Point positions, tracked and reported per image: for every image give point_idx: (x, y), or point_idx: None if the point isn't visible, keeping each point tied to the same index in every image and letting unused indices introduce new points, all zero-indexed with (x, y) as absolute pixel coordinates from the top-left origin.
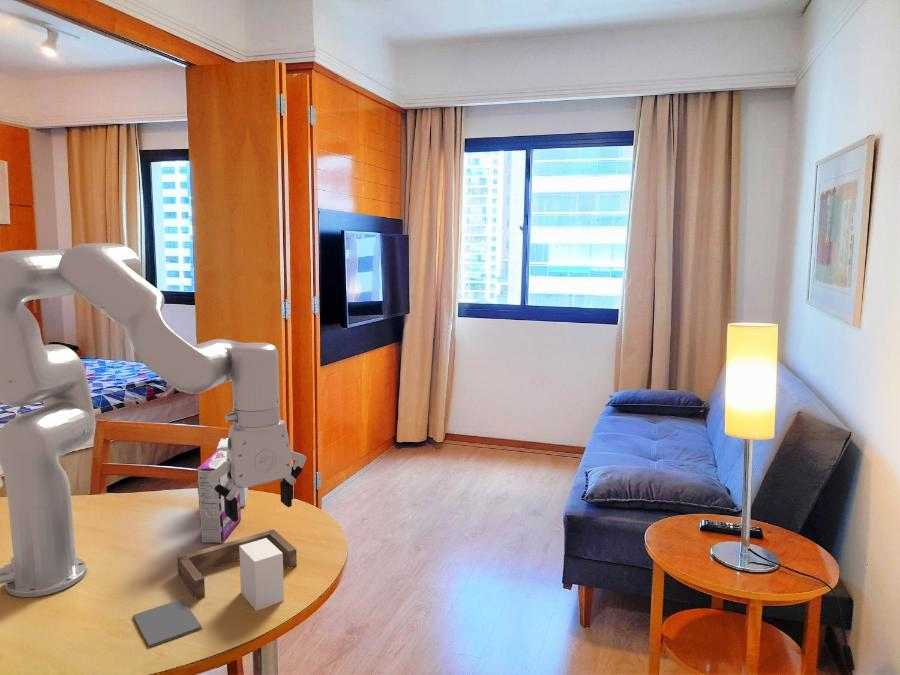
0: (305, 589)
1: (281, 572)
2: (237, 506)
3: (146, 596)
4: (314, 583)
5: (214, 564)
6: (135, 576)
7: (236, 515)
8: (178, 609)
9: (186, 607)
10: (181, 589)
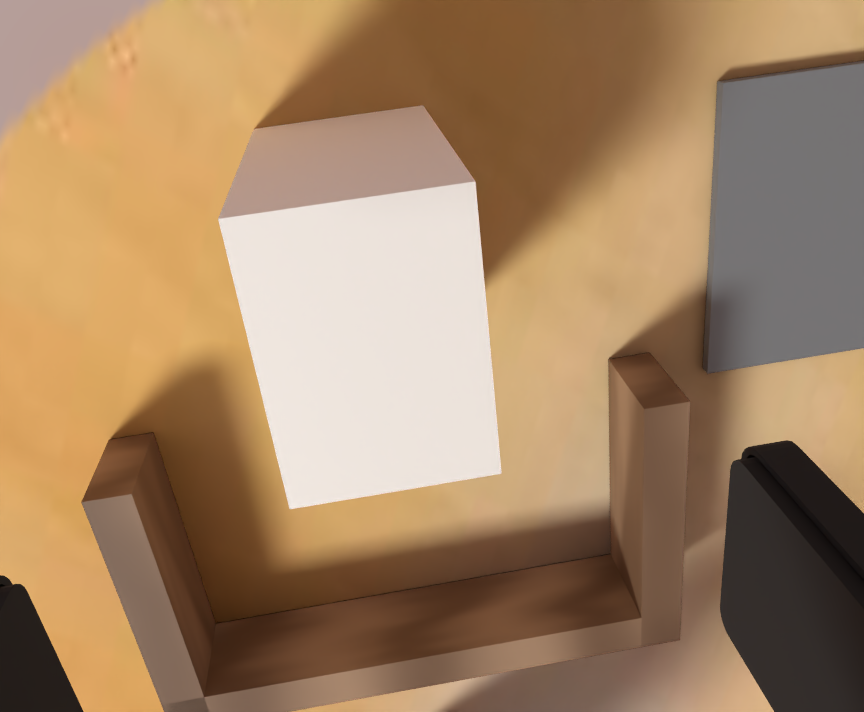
0: (103, 185)
1: (249, 173)
2: (853, 591)
3: None
4: (36, 224)
5: (497, 585)
6: None
7: (799, 488)
8: (755, 292)
9: (720, 291)
10: None
